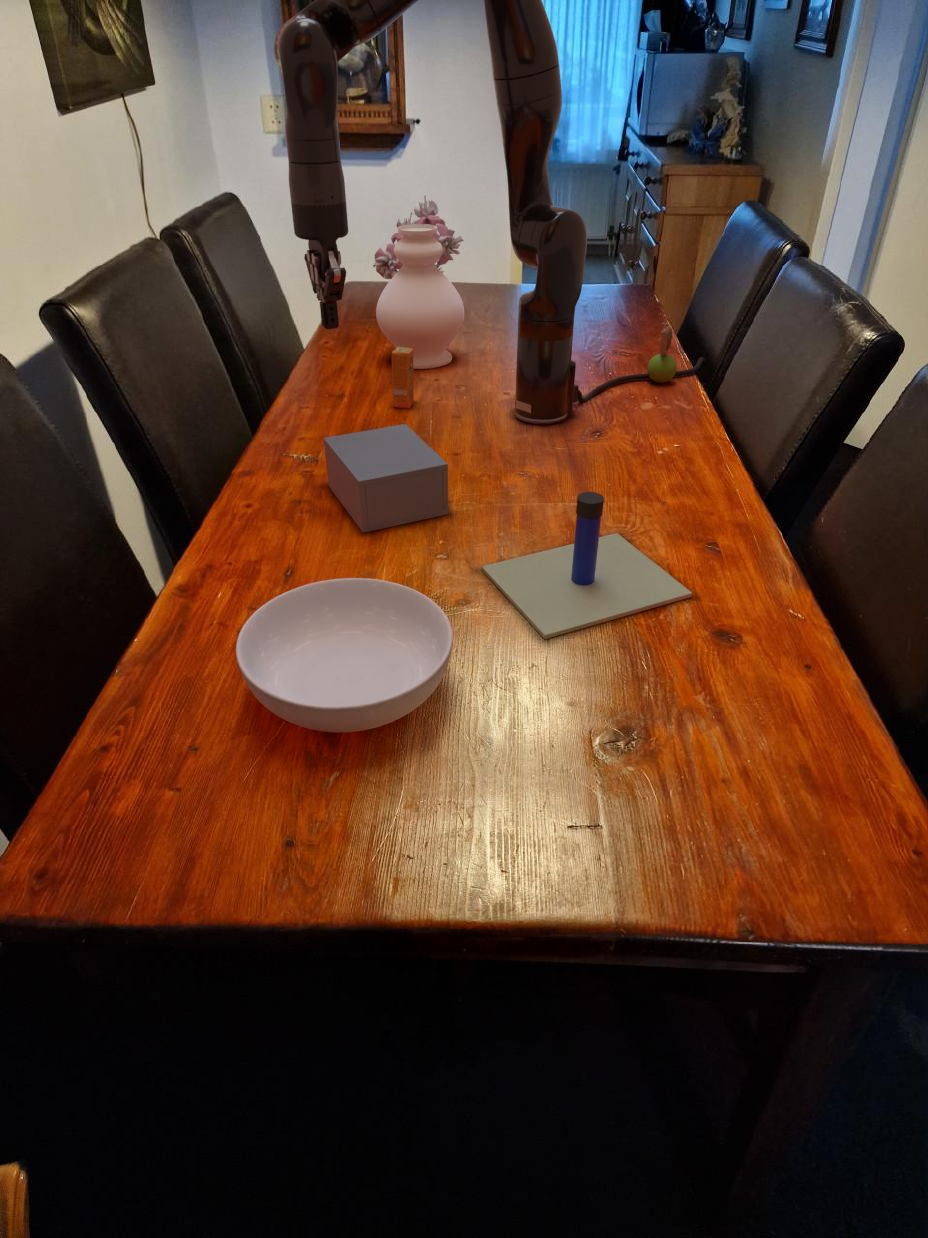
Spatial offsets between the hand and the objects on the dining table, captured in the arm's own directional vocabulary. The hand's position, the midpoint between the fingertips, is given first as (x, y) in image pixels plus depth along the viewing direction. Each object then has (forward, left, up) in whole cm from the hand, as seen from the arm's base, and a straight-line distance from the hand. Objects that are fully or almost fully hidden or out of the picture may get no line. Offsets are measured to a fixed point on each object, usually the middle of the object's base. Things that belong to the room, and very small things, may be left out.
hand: (330, 327), depth 122 cm
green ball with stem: (-65, -3, -19) cm, 68 cm away
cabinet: (0, +21, -19) cm, 28 cm away
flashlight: (-14, +52, -18) cm, 57 cm away
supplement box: (-16, -13, -19) cm, 28 cm away
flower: (-41, -68, -19) cm, 82 cm away
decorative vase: (-29, -36, -19) cm, 50 cm away
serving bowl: (+18, +59, -19) cm, 65 cm away
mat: (-14, +52, -19) cm, 57 cm away
